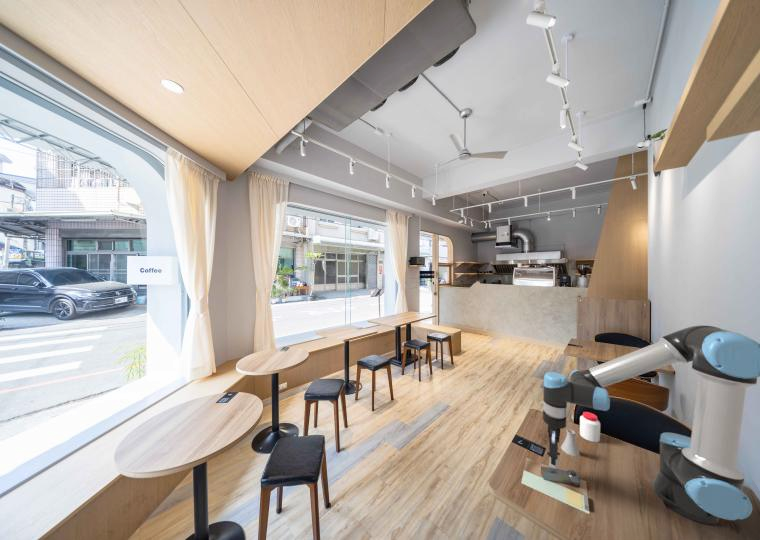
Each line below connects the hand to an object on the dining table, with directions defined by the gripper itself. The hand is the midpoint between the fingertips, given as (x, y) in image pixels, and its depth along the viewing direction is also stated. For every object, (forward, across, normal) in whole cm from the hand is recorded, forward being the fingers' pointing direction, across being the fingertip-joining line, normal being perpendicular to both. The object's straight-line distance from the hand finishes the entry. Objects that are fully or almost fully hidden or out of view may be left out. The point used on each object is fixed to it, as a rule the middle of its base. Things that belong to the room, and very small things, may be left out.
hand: (553, 470), depth 100 cm
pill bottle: (+5, -41, +13) cm, 43 cm away
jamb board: (+3, 0, 0) cm, 3 cm away
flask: (+4, -21, +6) cm, 22 cm away
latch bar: (+1, +2, +2) cm, 3 cm away
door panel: (+2, +8, 0) cm, 9 cm away
